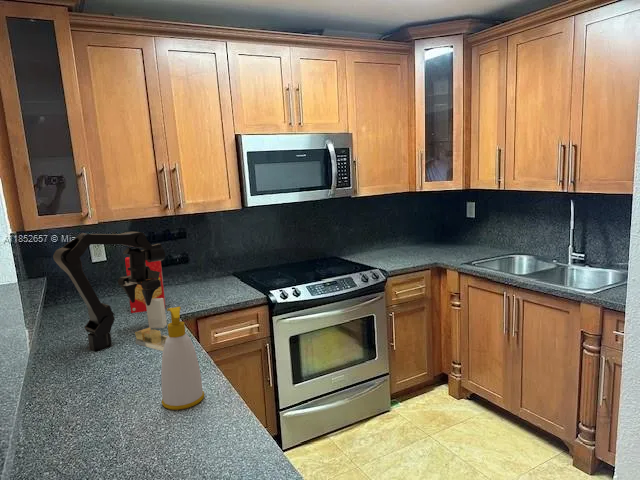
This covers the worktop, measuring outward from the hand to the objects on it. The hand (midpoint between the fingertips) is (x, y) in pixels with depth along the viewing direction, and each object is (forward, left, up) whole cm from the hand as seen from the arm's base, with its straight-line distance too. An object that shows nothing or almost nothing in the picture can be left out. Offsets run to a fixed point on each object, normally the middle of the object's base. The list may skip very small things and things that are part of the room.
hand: (140, 303), depth 170 cm
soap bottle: (-28, -55, -13) cm, 63 cm away
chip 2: (-5, -12, -12) cm, 17 cm away
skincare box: (+7, +1, -13) cm, 14 cm away
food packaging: (+22, +27, -13) cm, 37 cm away
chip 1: (-5, -8, -12) cm, 15 cm away
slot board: (-5, -16, -12) cm, 20 cm away
